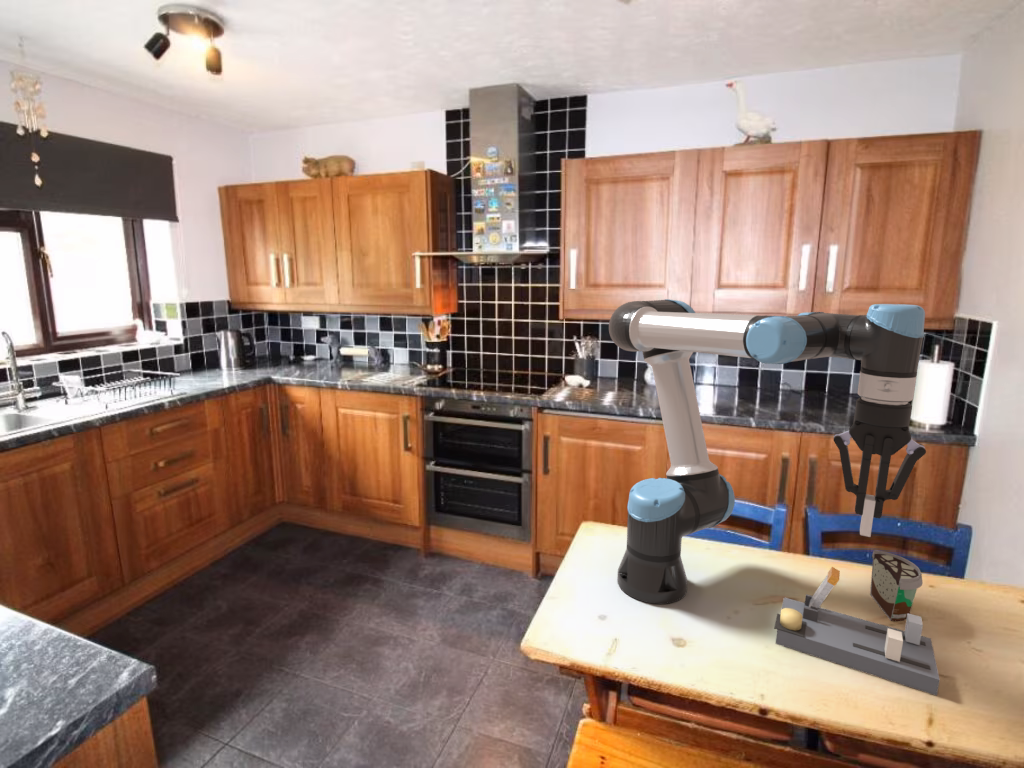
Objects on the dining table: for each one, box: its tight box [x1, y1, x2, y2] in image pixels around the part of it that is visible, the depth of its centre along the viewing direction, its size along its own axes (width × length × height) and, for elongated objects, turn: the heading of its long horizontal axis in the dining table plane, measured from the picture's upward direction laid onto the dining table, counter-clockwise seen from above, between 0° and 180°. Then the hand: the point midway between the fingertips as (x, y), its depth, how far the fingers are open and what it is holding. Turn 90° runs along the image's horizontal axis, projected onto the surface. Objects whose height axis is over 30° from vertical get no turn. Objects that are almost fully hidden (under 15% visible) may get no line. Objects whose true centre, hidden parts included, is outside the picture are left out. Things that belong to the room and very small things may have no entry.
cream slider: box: [885, 628, 903, 662], centre depth 91 cm, size 2×3×4 cm
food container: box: [869, 549, 923, 623], centre depth 109 cm, size 12×6×10 cm, turn 168°
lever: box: [808, 566, 841, 610], centre depth 102 cm, size 1×4×10 cm, turn 148°
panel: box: [774, 593, 941, 696], centre depth 98 cm, size 24×12×5 cm, turn 58°
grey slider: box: [904, 613, 924, 645], centre depth 96 cm, size 2×3×4 cm
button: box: [780, 608, 803, 631], centre depth 100 cm, size 4×4×2 cm
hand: (865, 532), depth 91 cm, fingers closed
